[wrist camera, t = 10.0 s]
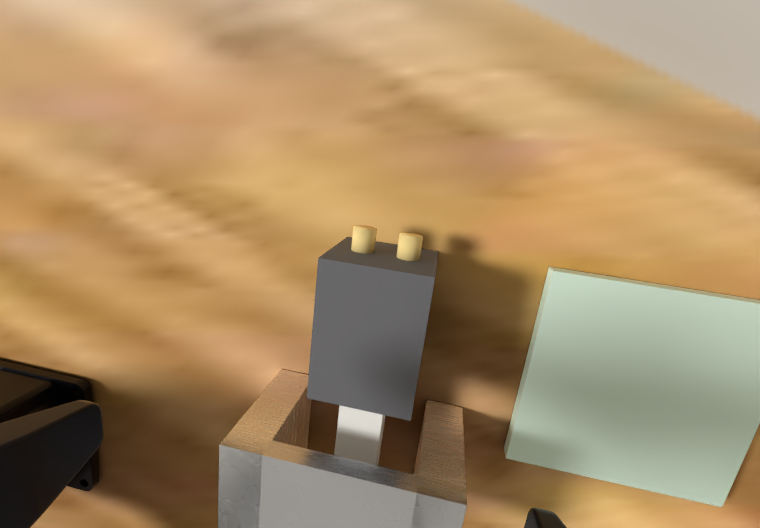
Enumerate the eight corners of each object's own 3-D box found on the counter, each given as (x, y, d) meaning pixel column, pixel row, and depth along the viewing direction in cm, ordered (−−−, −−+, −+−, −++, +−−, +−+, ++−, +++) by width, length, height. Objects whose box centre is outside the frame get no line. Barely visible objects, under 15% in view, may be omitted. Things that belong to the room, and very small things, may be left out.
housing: (281, 369, 17) (219, 444, 13) (462, 407, 16) (466, 505, 12) (277, 444, 18) (217, 539, 14) (446, 484, 17) (444, 602, 13)
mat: (548, 266, 14) (553, 270, 14) (794, 305, 13) (809, 311, 13) (503, 448, 16) (505, 458, 16) (712, 494, 15) (721, 507, 15)
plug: (349, 216, 15) (320, 232, 12) (441, 230, 15) (439, 251, 11) (322, 480, 19) (293, 552, 15) (396, 499, 18) (384, 577, 15)
